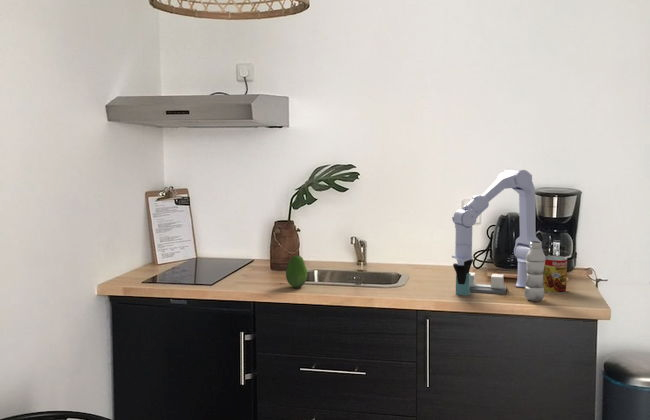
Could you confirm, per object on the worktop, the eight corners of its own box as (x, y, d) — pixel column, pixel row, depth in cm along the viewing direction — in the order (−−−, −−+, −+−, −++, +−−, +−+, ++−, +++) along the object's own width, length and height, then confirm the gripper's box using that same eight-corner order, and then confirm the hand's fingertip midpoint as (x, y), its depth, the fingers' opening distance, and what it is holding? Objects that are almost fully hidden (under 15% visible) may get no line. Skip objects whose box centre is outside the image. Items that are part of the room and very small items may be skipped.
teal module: (470, 292, 223) (470, 273, 222) (468, 295, 219) (469, 275, 218) (457, 291, 224) (457, 272, 224) (455, 294, 221) (456, 275, 220)
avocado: (310, 285, 236) (309, 254, 235) (302, 290, 229) (302, 258, 228) (290, 284, 239) (290, 253, 238) (282, 288, 232) (281, 256, 230)
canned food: (557, 294, 219) (558, 260, 218) (538, 290, 225) (539, 257, 224) (570, 291, 224) (571, 258, 222) (551, 287, 230) (552, 254, 228)
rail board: (506, 288, 229) (507, 273, 228) (504, 294, 220) (505, 278, 220) (462, 285, 234) (462, 270, 234) (458, 290, 226) (458, 275, 225)
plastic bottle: (539, 297, 215) (541, 240, 213) (547, 302, 209) (549, 243, 206) (521, 298, 215) (522, 240, 213) (528, 303, 208) (530, 243, 206)
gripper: (455, 239, 228) (454, 276, 229) (449, 246, 214) (448, 285, 216) (475, 240, 225) (474, 277, 227) (470, 247, 212) (469, 286, 214)
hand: (463, 281), depth 221 cm, fingers open, 7 cm apart
